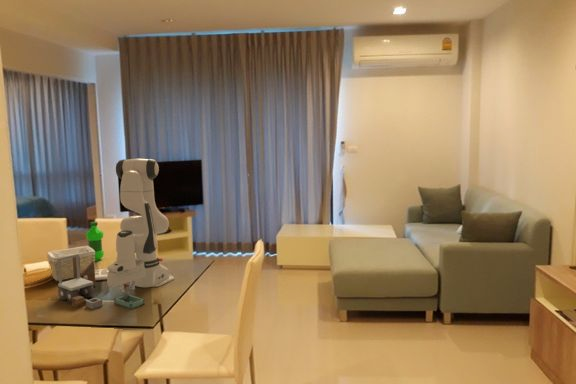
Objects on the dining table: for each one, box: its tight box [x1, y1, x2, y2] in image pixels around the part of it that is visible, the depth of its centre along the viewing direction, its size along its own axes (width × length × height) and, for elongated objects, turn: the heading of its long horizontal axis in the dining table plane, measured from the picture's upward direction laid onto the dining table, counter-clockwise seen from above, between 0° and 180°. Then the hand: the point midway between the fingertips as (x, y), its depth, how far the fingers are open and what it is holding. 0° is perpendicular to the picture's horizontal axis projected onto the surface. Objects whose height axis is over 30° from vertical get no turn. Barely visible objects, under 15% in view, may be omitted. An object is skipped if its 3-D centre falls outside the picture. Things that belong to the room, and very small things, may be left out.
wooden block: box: [72, 256, 96, 288], centre depth 262 cm, size 4×11×18 cm, turn 119°
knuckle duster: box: [83, 268, 109, 282], centre depth 281 cm, size 3×18×15 cm
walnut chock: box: [71, 295, 85, 309], centre depth 236 cm, size 4×4×4 cm
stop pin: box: [123, 282, 131, 303], centre depth 237 cm, size 3×3×11 cm
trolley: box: [57, 254, 103, 310], centre depth 242 cm, size 12×27×21 cm, turn 55°
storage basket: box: [46, 245, 96, 282], centre depth 284 cm, size 24×16×15 cm
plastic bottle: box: [85, 221, 105, 261], centre depth 314 cm, size 10×10×25 cm
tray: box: [114, 294, 145, 310], centre depth 239 cm, size 8×13×2 cm, turn 55°
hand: (127, 290), depth 237 cm, fingers open, 4 cm apart
